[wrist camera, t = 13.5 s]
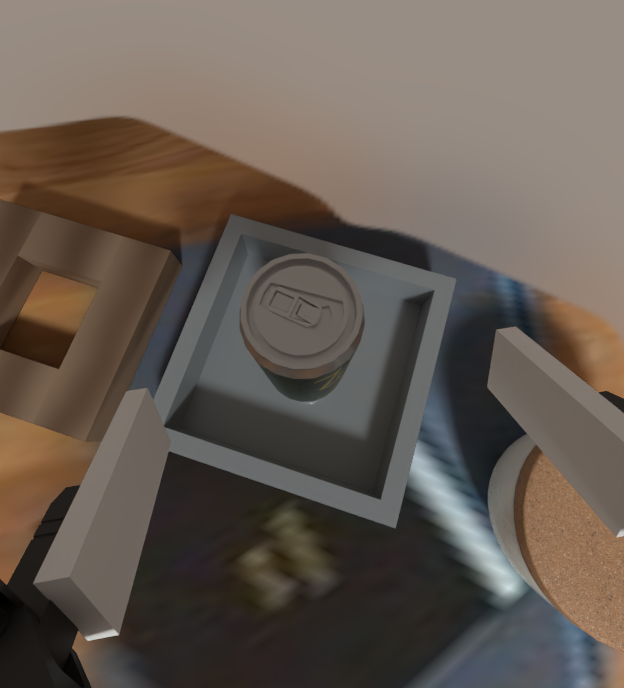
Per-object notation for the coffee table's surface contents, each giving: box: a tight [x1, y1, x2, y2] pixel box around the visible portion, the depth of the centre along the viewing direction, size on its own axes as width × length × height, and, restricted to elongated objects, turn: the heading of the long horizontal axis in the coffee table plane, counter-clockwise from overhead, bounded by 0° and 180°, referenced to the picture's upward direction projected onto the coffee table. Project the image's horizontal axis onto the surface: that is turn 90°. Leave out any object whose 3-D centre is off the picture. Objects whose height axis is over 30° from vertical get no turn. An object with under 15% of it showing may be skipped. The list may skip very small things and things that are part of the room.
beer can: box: [239, 253, 365, 402], centre depth 21 cm, size 5×5×12 cm
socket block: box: [0, 199, 182, 442], centre depth 27 cm, size 14×14×2 cm
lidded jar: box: [488, 434, 624, 651], centre depth 21 cm, size 11×11×9 cm
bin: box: [153, 214, 456, 528], centre depth 26 cm, size 16×16×4 cm
